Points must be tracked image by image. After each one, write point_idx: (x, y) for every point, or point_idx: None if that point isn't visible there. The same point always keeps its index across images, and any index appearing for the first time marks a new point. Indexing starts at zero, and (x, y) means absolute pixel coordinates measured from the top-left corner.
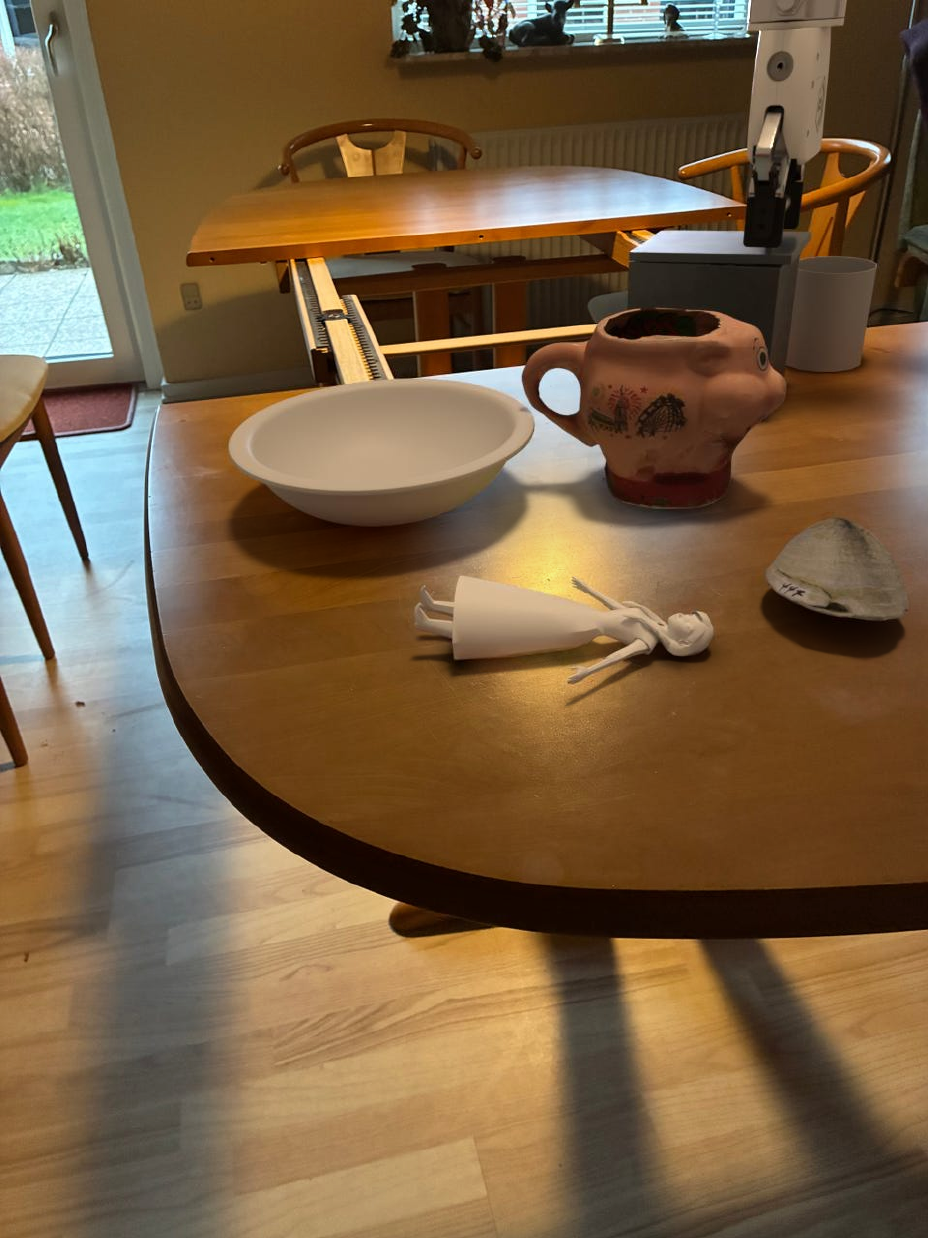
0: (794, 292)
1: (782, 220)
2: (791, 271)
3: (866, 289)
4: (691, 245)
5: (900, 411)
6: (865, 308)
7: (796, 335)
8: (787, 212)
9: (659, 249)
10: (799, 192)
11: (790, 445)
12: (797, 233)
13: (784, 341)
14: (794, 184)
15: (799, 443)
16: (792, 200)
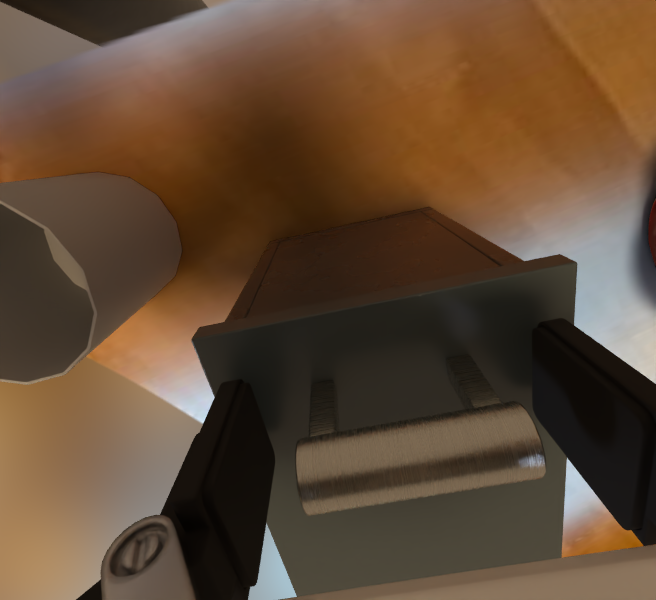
0: (249, 291)
1: (619, 359)
2: (336, 298)
3: (22, 190)
4: (468, 524)
5: (288, 17)
6: (44, 183)
7: (158, 280)
8: (250, 438)
9: (527, 557)
10: (221, 467)
11: (512, 129)
12: (234, 366)
13: (311, 253)
14: (218, 516)
15: (500, 120)
16: (235, 461)
